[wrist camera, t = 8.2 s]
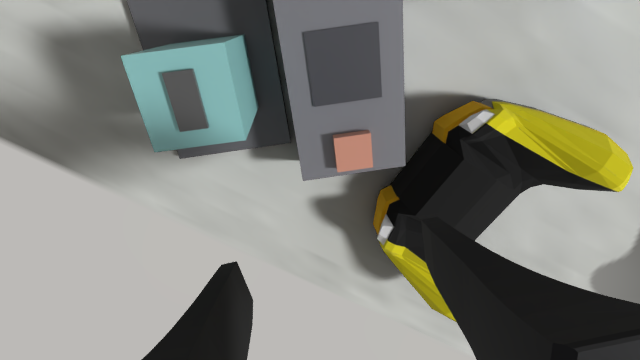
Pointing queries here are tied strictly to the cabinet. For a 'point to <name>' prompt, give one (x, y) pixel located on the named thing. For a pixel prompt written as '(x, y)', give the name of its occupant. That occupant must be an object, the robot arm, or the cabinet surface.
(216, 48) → the block
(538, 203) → the cabinet surface
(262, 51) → the mat
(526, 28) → the cabinet surface
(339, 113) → the power strip
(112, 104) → the cabinet surface
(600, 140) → the gaming controller
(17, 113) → the cabinet surface
